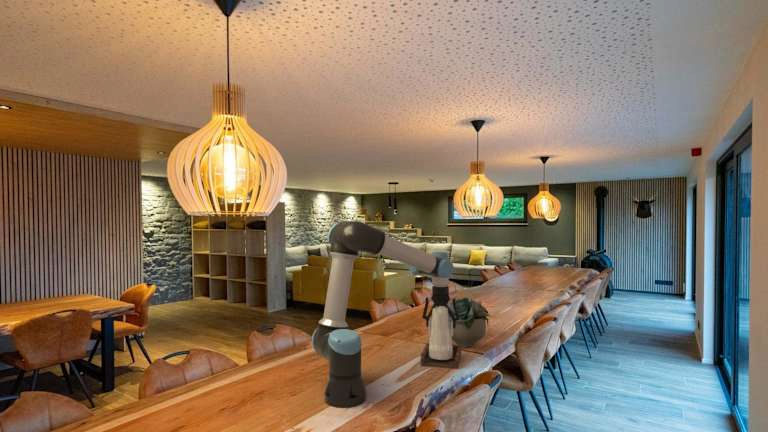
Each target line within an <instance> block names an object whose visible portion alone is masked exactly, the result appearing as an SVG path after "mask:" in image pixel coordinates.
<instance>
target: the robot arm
mask: <svg viewBox="0 0 768 432" xmlns="http://www.w3.org/2000/svg"><path fill="white" fill-rule="evenodd" d="M327 235H328V236H327V240H328V243H329V246H330V247H329V248H330V249H329V254H330V255H331V258H332V259H331V265H330V272H329V278H328V279H329V280H328V284H327V285H328V286H327V290H326V298H325V305H324V311H323V317H322V318H321V319H320V320H319V321H318V322H317V323H318V325H317V328H315V330H314V331H313V334H312V336H311V346H312V348H313V350H314V351H315V353H316V354H317V355H318V356H319V357H322V358H323V359H325V360H326V361H327V362H328V379H327V383H326V386H325V390H324V395H323V397H324V402H325V403H326V405H329V406H332V407H337V408H350V407H353V406H355V407H356V406H357V405H358V406H359V405H361V404H363V403H364V402H365V401H366V400H367V389H366V385H365V383H364V381H363V377H362V346H363V345H362V341H361V340H362V337H361V335H360V334H359V332H357V331H355V330H352V329H349V325H348V323H347V322H346V316H347V308H348V302H349V295H350V288H351V283H352V282H351V281H352V276H353V275H352V274H353V270H354V263H355V262H354V261H355V260H356V259H357V258H358V257H359V255H360V253H368V254H369V255H374V256H377V255H380V256H383V257H386V258H389V259H391V260H392V261H393V260H394V261H396V262H399V263H401V264H403V265H406V266H408V269H409V270H408V271H409V272H410V273H411V274H412V275H415V276H416V275H418V276H419V275H425V276H430V277H431V284H432V286H431V287H432V288H431V292H432V293H431V294H432V295H431V296H426V297H425V304H424V309H423V312H422V319H423V320H425V322H426V325H425V326H426V328H428V336H430V335H431V318H430V317H431V314H432V311H433V308H435V307H436V306H445V307H446V308H448V313H449V315H450V317H451V319H452V320H451V336H453V328H454V329H455V327H456V321H457V320H459V319H460V317H459V313H458V310H457V306H456V300H457V297H450V291H449V289H450V288H449V284H450V282H449V281H450V280H449V279H450V278H451V276H452V275H453V272H455V271H454V270H455V268H454V263H453V262H452V261H451V260H450V259H449V253H448V252H447V251H433V252H432V253H427V252H425V251H423V250H421V249H419V248H416V247H415V246H411V245H409V244H406V243H404V242H401V241H399V240H397V239H394V238H392V237H390V236H387V235H386V233H385V232H384V231H382V230H380V229H378V228H376V227H374V226H372V225H370V224H367V223H365V222H363V221H359V220H343V221H340V222H336V223H334V224H333V225H332V226H331V227H330V229H329V231H328V234H327ZM431 300H432V302H433V305H432V306H431V308H430V311H429V313H428V314H427V311H428V309H429V308H428V307H429V304H430V302H431ZM450 302H451V303H453V308H454V312H455V315H456V318H455V317H454V315H453V313H452V311H451V309H450V307H448V305H447V303H450Z"/></svg>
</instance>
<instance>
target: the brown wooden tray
mask: <svg viewBox="0 0 768 432" xmlns="http://www.w3.org/2000/svg"><path fill="white" fill-rule="evenodd" d="M429 344H430V343H425V346H424V348H423V349H422V351H421V353H420V367H432V368H442V369H443V368H447V369H457V370H458V369H459V368H460V363H461V359H462V347H461V346H459V345H457V344H456V345H454V344H452V346H453V357H452V358H451V359H448V360H437V359H432V358H430V357H429Z"/></svg>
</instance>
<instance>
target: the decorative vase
mask: <svg viewBox="0 0 768 432" xmlns="http://www.w3.org/2000/svg"><path fill="white" fill-rule="evenodd" d="M449 303H450V302H448V303H447V305H448V307H449ZM430 317H431V318H430V319H431V335H429V343H428V344H429V357H430V358H432V359H437V360H448V359H451V358H452V357H453V346H452V345H453V342H452V341H453V340H452V336H451V328H450V315H449V313H448V308H446V307H445V306H436V307H435V308H433V311H432V314H431V316H430Z"/></svg>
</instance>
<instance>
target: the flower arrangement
mask: <svg viewBox="0 0 768 432" xmlns="http://www.w3.org/2000/svg"><path fill="white" fill-rule="evenodd" d="M448 303H449V307H450V309H451V311H452V313H453V315H454V317H455V318H456V315H455V312H454V308H453V303H451V301H449V302H448ZM456 306H457V310H458V313H459V317H460V319H459V320H457V321H456V327H455V329H454V328H453V336H452V341H454V342H455V343H456V345H459V346H461V348H473V346H475V343H478V342H479V341H481V340H482V339H483V338H484V337H485V334H486V331H487V326H489V320H490V319H489V318H491V315H490V314H489V312H488V310H487V309H486V307H485V306H483V305H482V301H481V300H478V301H476V300H474V299H473V298H472V297H463V298H458V299H456ZM487 317H489V318H487ZM451 320H452V319H451V317H450V328H451Z"/></svg>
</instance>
